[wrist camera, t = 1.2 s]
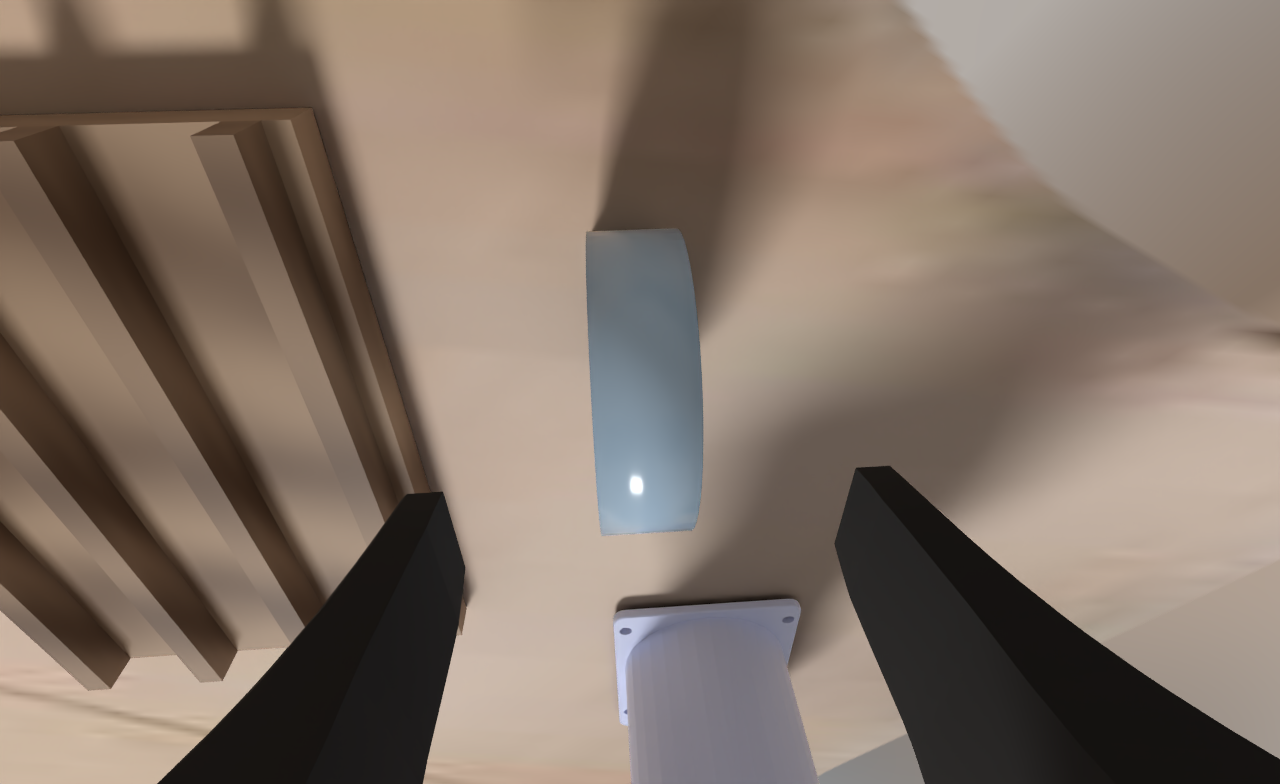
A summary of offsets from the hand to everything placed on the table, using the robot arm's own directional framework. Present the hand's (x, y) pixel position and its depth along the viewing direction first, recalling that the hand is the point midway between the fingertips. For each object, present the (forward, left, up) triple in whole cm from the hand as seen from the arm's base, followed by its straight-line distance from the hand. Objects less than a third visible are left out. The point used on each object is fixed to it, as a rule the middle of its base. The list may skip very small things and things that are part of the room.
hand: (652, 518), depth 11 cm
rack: (-4, +14, -8) cm, 17 cm away
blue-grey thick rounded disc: (0, 0, -8) cm, 8 cm away
